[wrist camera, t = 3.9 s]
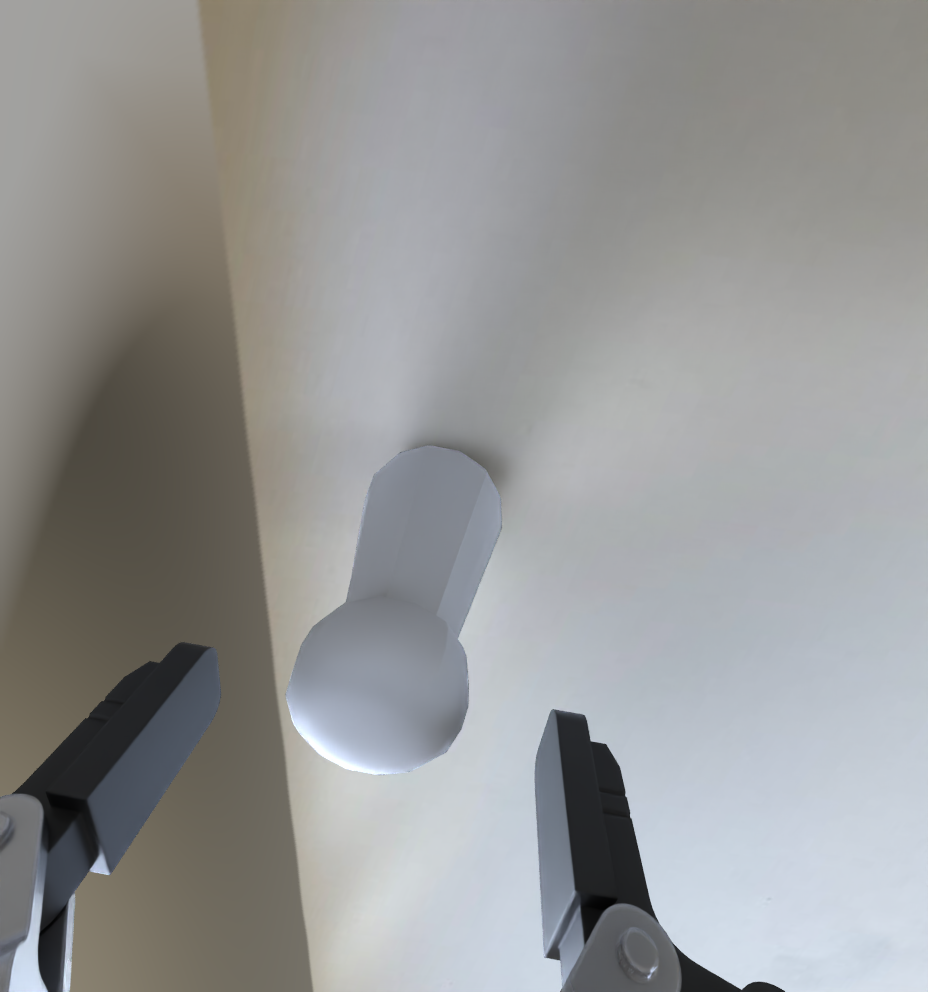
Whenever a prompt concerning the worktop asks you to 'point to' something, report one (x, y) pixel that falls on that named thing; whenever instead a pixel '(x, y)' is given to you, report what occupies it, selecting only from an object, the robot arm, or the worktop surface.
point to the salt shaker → (400, 619)
